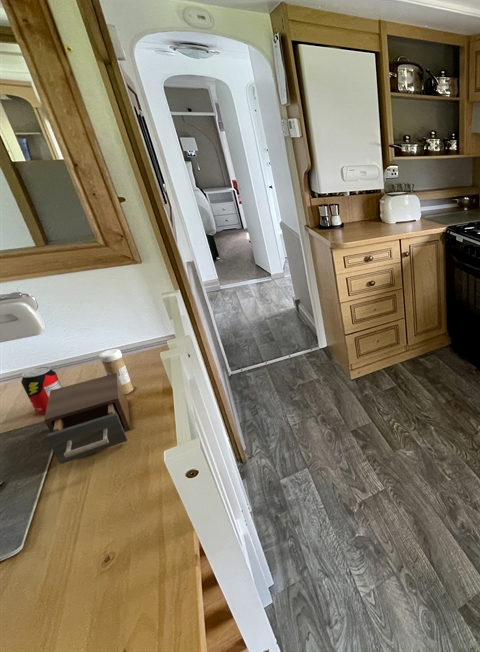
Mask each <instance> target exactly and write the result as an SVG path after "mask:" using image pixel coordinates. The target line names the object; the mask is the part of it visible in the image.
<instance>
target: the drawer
mask: <svg viewBox="0 0 480 652" xmlns="http://www.w3.org/2000/svg"><path fill="white" fill-rule="evenodd" d="M53 430H54V432H52V433H50V432H49V433H47V434H46V439H47V441H48V442H49V445H50V447H51V449H52V451H53V453H54V454H55V457H56V460H57V461H58V463H59V465H62V464H65V463H69V462H71V461H74V460H77V459H79V458H82V457H85V456H89V455H91V454H94V453H97V452H99V451H102V450H106V449H107V448H110V447H111V448H112V447H114V446H117V445H119V444H122V443H125V442H128V437H127V435H126V431H124V429H123V427H122V424H121V417H120V415H119V412H118V410H117V407H116V405H115V402H114V403H111V404H107V405H104V406H101V407H97V408H94V409H91V410H87V411H84V412H81V413H77V414H74V415H70V416H67V417H64V418H60V419H57V420H55V424H54V429H53Z"/></svg>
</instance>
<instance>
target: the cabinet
mask: <svg viewBox="0 0 480 652" xmlns="http://www.w3.org/2000/svg"><path fill="white" fill-rule="evenodd" d="M114 402H115V405H116V407H117V410H118V412H119V415H120V417H121V424H122V427H123V429H124V432H127V431H130V430H131V420H130V410H129V401H128V398H127V396H126V394H125V393H124V391H123V388H122V385H121V383H120V380H119V377H118V375H117V373H115V374H111V375H107V374H106V375H104V376H101V377H97V378H92V379H89V380H85V381H80V382H76V383H73V384H70V385H66V386H62V388H58V389H54V390H51V391H50V395H49V400H48V405H47V409H46V414H44V419H43V421H44V422H45V425H46V427H47V429H48V431H49V433H52V432H54V430H53V429H54V424H55V420H57V419H60V418H64V417H67V416H70V415H74V414H77V413H81V412H84V411H87V410H91V409H94V408H97V407H101V406H104V405H107V404H111V403H114Z"/></svg>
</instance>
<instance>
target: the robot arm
mask: <svg viewBox="0 0 480 652" xmlns="http://www.w3.org/2000/svg"><path fill="white" fill-rule="evenodd" d="M38 308H39V304H38V302H37V299H36V298H35V296H33V295H31V294H29V293H23V292H21V291H15V292H10V293H4V294H0V343H6V342H10V341H15V340H21V339H26V338H30V337H34V336H40V335H42V334H43V333H44V332H45V330H46V323H45V320H44V319H43V317H42V316H41V314H40V313H39V311H38Z"/></svg>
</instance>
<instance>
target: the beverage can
mask: <svg viewBox="0 0 480 652" xmlns="http://www.w3.org/2000/svg"><path fill="white" fill-rule="evenodd" d="M21 377H22V379H21V381H20V382H21V386H22V387H23V389H24V391H25V394H26V395H27V397H28V399H29V401H30V403H31V405H32V408H33V410H34V412H35V413H36V414H40V415H45V414H46V409H47V405H48V400H49V395H50V391H51V390H54V389H58V388H62V387H63V386H62V384H61V381H60V380H59V377H58V375H57V372H56V371H54V370H53V369H51V367H50V366H39V367H35V368H31V369H29V370H26V371H25V372H23V373H22V374H21Z"/></svg>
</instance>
